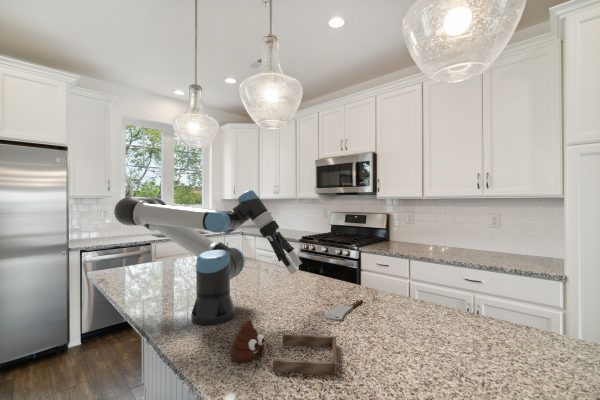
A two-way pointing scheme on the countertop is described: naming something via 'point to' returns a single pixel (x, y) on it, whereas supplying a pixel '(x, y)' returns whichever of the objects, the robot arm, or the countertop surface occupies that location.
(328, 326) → the countertop surface
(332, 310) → the kitchen cleaver
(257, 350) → the poop emoji
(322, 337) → the walnut corral
